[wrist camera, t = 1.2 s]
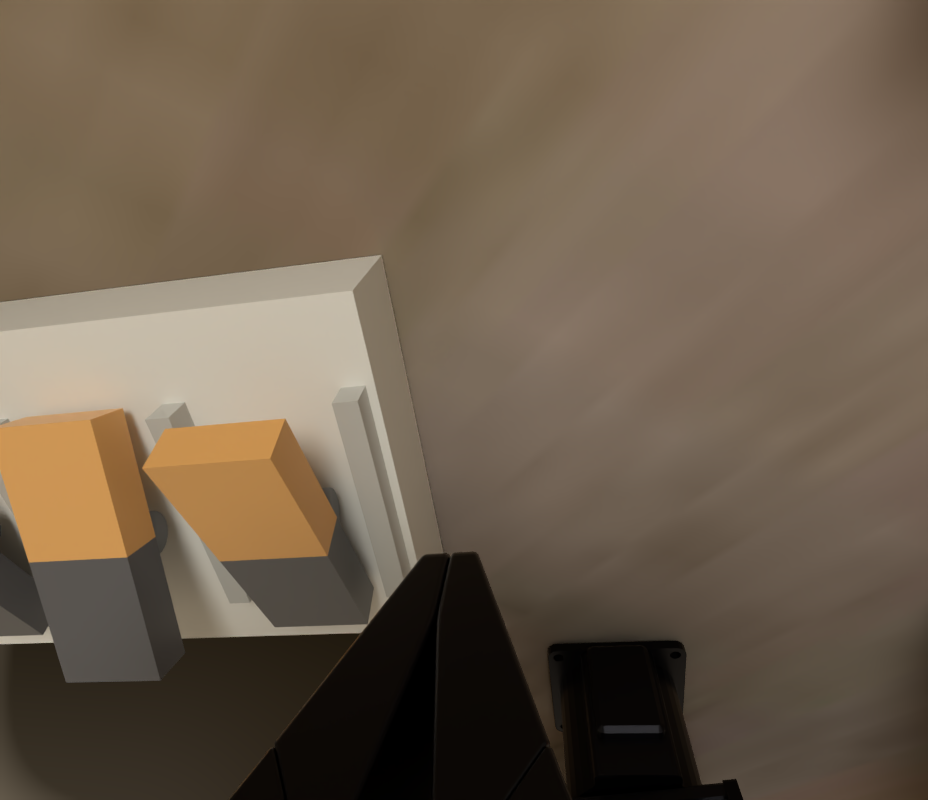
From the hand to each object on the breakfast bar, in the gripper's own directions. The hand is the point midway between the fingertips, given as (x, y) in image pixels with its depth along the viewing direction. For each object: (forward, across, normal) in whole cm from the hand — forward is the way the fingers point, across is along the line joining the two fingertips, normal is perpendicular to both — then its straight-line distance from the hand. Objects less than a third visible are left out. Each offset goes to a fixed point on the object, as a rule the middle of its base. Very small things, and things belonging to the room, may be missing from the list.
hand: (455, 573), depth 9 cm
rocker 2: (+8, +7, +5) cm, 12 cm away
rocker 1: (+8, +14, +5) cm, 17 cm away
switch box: (+13, +14, +5) cm, 19 cm away
